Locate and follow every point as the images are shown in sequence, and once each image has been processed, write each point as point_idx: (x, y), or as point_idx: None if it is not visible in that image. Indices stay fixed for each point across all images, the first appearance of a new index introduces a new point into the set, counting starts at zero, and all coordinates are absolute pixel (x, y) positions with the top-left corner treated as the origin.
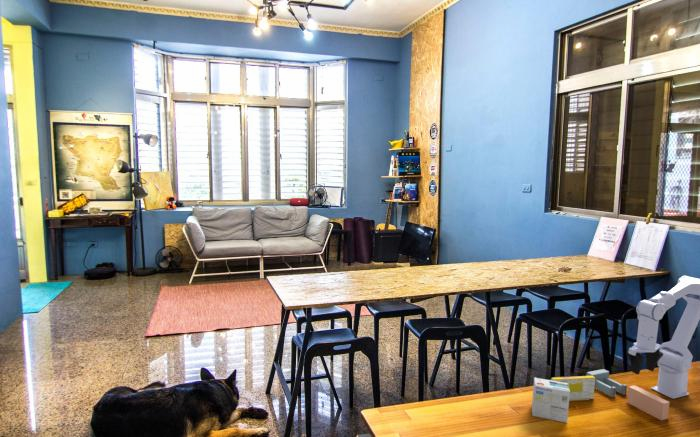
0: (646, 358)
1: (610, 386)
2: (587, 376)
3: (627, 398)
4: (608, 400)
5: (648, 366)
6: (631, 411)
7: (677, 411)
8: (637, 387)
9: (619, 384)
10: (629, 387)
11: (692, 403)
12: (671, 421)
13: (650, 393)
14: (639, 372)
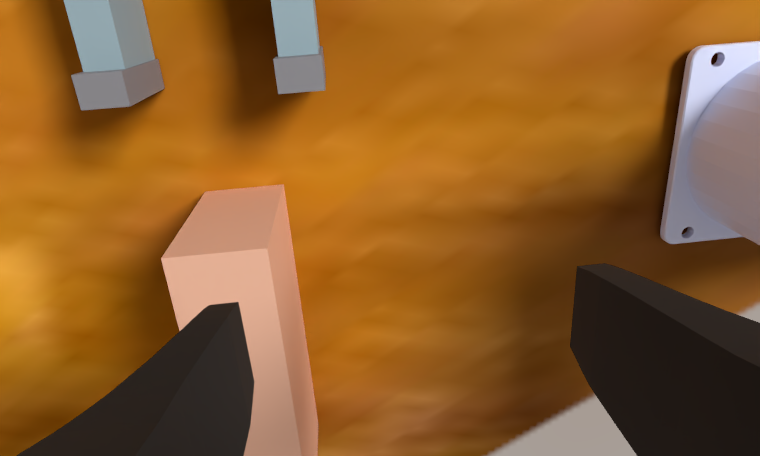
0: (706, 346)
1: (114, 28)
2: None
3: (195, 207)
4: (40, 123)
5: (603, 318)
6: (122, 310)
7: (491, 370)
8: (257, 294)
9: (282, 14)
10: (164, 266)
11: None
12: None
13: (283, 410)
14: (248, 412)
